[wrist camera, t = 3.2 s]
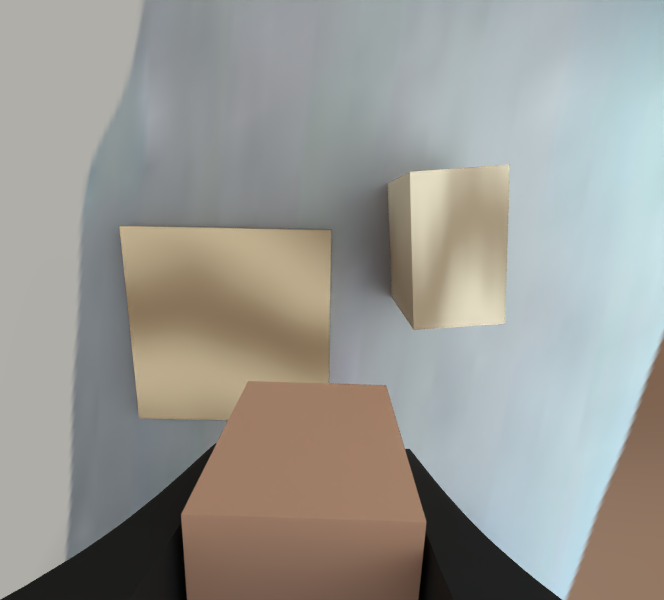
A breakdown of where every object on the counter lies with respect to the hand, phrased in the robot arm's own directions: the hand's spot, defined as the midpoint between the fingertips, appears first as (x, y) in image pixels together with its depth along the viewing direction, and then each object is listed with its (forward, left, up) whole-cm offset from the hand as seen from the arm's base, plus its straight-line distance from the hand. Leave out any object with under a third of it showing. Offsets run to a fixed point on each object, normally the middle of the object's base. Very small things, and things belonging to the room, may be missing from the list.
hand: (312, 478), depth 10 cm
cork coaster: (+2, +4, -8) cm, 9 cm away
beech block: (+6, -3, -6) cm, 9 cm away
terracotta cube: (0, 0, -1) cm, 1 cm away
